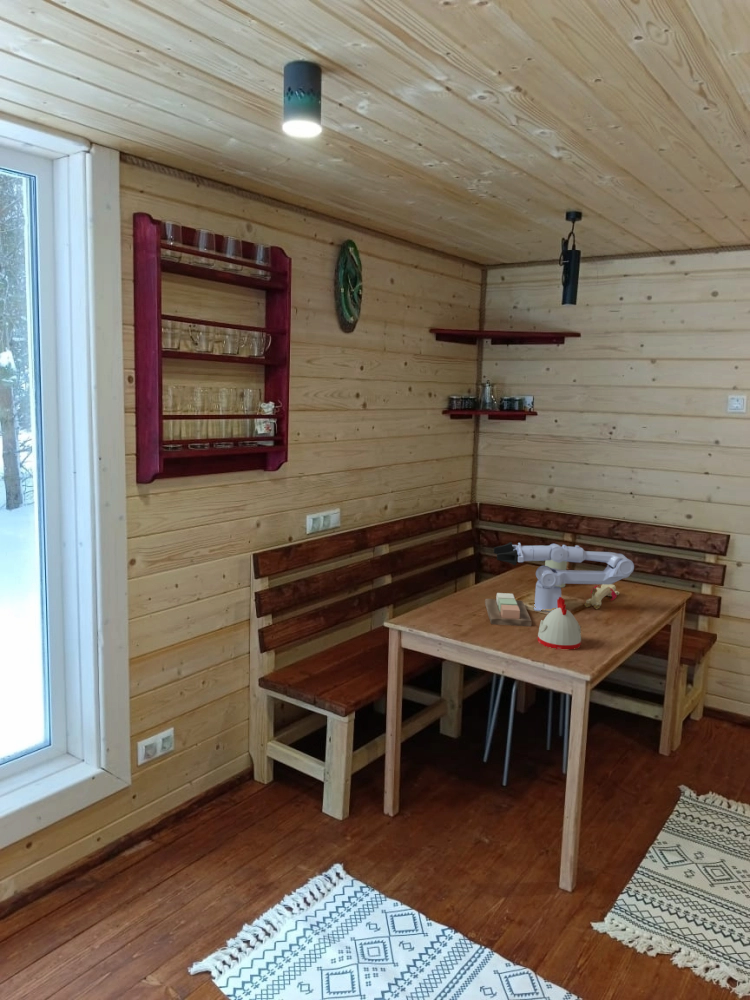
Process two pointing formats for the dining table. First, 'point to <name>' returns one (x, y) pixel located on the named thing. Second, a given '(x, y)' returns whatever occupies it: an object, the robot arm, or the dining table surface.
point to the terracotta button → (510, 611)
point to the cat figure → (601, 595)
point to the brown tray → (497, 619)
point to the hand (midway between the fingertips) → (495, 553)
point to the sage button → (506, 602)
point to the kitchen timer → (560, 629)
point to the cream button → (504, 596)
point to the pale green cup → (557, 567)
